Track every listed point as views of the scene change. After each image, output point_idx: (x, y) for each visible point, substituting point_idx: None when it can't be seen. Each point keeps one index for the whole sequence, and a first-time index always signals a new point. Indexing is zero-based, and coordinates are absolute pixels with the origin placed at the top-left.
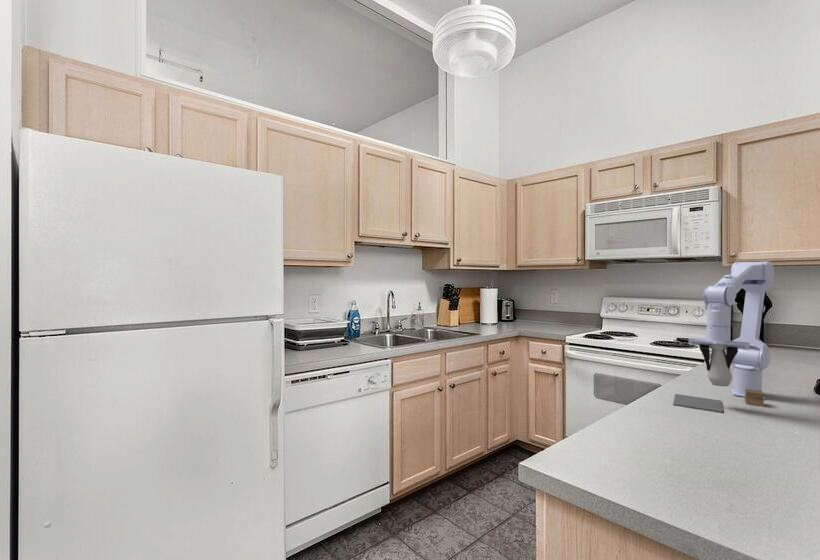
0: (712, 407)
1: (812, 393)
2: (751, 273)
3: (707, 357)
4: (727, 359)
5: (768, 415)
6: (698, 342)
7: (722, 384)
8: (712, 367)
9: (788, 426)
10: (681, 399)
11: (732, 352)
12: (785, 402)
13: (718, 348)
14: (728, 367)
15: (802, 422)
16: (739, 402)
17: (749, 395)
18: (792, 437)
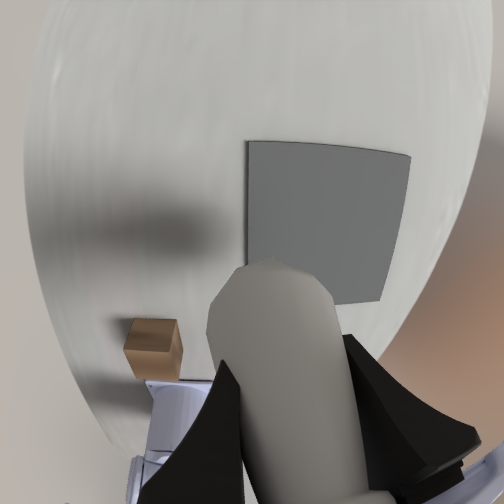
0: (285, 183)
1: (103, 430)
2: None
3: (395, 403)
4: (235, 427)
5: (110, 222)
6: (462, 492)
7: (257, 264)
8: (336, 343)
9: (64, 122)
10: (377, 238)
11: (185, 497)
12: (110, 376)
13: None
14: (225, 370)
15: (41, 206)
16: (195, 329)
17: (162, 342)
18: (77, 11)
